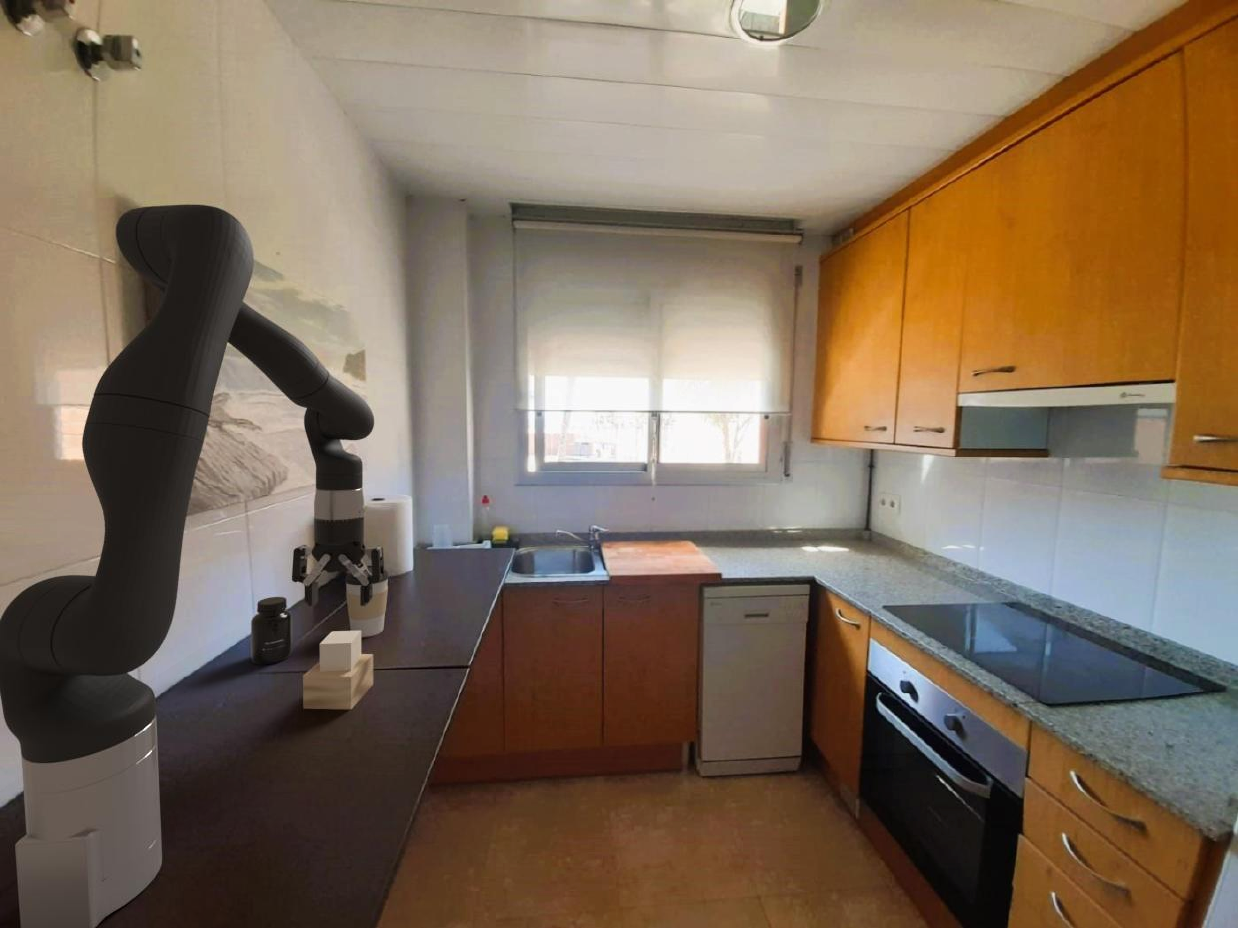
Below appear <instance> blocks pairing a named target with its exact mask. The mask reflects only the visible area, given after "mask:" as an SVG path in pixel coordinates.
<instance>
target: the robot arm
mask: <svg viewBox="0 0 1238 928" xmlns="http://www.w3.org/2000/svg"><path fill="white" fill-rule="evenodd" d="M116 223H117V224H116V227H115V237H116V242H117V245H118V248H119V250H120V252H121V254H122V256H123V258H124V259H125V261H126V262H127V263H128V264H129V265H130V267H131V268H132V269H133V270H134V271H135V272H136V273H137V274H139V276H140V277H141V278H143V279H144V280H145V281H146V282H148V284H150V285H151V286H153V287H154V288H155V289H157V290H158V291H159V292H161V294H163V297H162V299H161V302H160V305H158V307H157V310H156V312H155V313H154V315H153V316H152V318H151V319H150V320H149V321H148V323H147V324H146V325H145V326H144V328H143V329H142V330H141V331H140V332H139V333H138V334H137V335H136V336H135V337H134V338H132V340H131V341H130V342H129V343H127V345H126V346H125V347H124V348H123V350H122V351H120V353H118V355H116V357H115V358H114V359H113V360H112V361H111V363H110V364H109V365H108V366H107V367H106V370H105V371H104V372H103V373H102V375H101V377H100V378H99V380H98V382H97V384H96V387H95V389H94V393H93V396H92V400H91V403H90V405H89V410H88V414H87V416H86V420H85V424H84V428H83V434H82V438H81V439H82V440H81V441H82V442H81V448H82V449H81V450H82V454H83V455H82V456H83V458H84V462H85V466H86V469H87V472H88V475H89V478H90V480H91V483H92V486H93V488H94V490H95V491H94V492H95V493H96V497H98V500H99V503H100V506H101V510H102V514H103V515H102V516H103V521H104V536H103V544H102V549H101V554H100V557H99V562H98V566H97V568H96V571H95V572H96V573H95V575H84V574H81V575H80V574H68V575H67V574H65V575H58V576H54V577H49V578H46V579H43V580H41V581H38V582H35V583H33V584H32V585H30V586H28V587H27V588H25V589H24V590H22V591H21V592H20V593H18V595H16V596H15V597H14V599H13V600H12V601H10V603H9V604H8V605H7V607H6V608H5V610H4V611H3V613H2V615H1V617H0V701H1V706H2V707H1V708H2V715H3V719H4V722H5V724H6V727H7V728H8V730H9V732H10V733H11V734H12V735H13V736H14V737H15V738H16V740H18V742H19V744H20V745H19V746H20V755H21V766H22V767H21V768H22V769H21V770H22V785H23V787H22V788H23V801H24V803H23V804H24V814H25V815H24V816H25V830H26V834H25V835H24V836H23V837H22V838H20V839H19V840H18V841H17V842H16V843H15V846H14V847H15V849H14V850H15V862H16V864H15V865H16V877H17V892H18V893H17V894H18V906H19V919H20V928H96V927H98V925H99V924H100V923H101V922H102V921H103V920H104V919H105V918H106V917H108V916H109V915H110V914H112V913H113V912H115V911H117V910H118V909H120V908H122V907H123V906H125V905H127V904H128V903H130V902H131V901H132V900H133V899H134V898H136V897H137V896H138V895H139V894H140V893H141V892H143V891H144V890H145V889H146V888H147V887H148V886H149V885H150V884H151V883H152V882H153V880H154V879H155V878H156V876H157V874H158V873H159V871H160V870H161V867H162V865H163V853H162V851H163V850H162V849H163V848H162V847H163V846H162V826H161V825H162V823H161V821H162V819H161V802H160V801H161V800H160V778H159V755H158V751H159V750H158V728H157V707H156V706H157V704H156V703H157V701H156V695H155V693H154V690H153V689H152V688H151V687H150V686H149V685H148V684H146V683H145V682H143V681H141V680H139V679H137V678H135V677H134V676H132V675H131V674H129V673H130V672H133V671H135V670H137V669H138V668H140V667H142V666H143V665H145V664H146V663H147V662H148V661H149V660H150V659H152V658H153V657H154V656H155V654H156V653H157V652H158V651H159V649H161V646H162V644H163V643H164V641H165V640H166V639H167V636H168V634H169V631H170V629H171V625H172V623H173V620H174V616H175V612H176V611H175V610H176V606H177V599H178V589H179V580H180V571H181V570H180V569H181V559H182V552H183V551H182V549H183V542H184V541H183V540H184V532H185V527H186V520H187V515H188V510H189V506H190V501H191V495H192V492H193V491H192V489H193V485H194V481H195V474H196V471H197V468H198V463H199V460H200V457H201V454H202V450H203V446H204V443H205V438H206V435H207V433H206V432H207V430H208V426H209V421H210V416H211V410H212V404H213V399H214V394H215V390H216V387H217V384H218V383H217V382H218V378H219V375H220V371H221V368H222V366H223V365H222V364H223V360H224V357H225V353H226V350H227V344H228V343H229V345H231V347H233V348H234V349H235V350H237V351H238V352H240V354H242V355H243V356H244V357H245V358H247V359H248V360H249V362H251V363H252V364H253V365H254V366H255V367H257V368H258V369H259V371H261V372H262V373H263V374H264V375H265V376H266V377H267V378H268V379H269V380H270V381H271V383H273V384H274V385H275V387H276V388H278V389H279V390H280V392H282V394H284V396H285V397H286V398H287V399H289V401H291V402H292V403H293V404H295V405H297V406H298V407H300V408H301V407H302V408H304V409H305V408H306V410H305V412H304V416H303V425H304V431H305V434H306V438H307V441H308V445H309V447H310V451H311V454H312V457H313V460H314V463H315V495H314V500H313V508H314V509H313V541H314V545H313V546H308V545H307V544H302V545H301V546H297V547H296V548H294V549H293V552H292V553H293V554H292V555H293V557H292V569H291V581H292V582H293V583H300V584H302V585H303V586H304V602H305V603H306V604H307V606H308V607H314V606H316V605H317V604H318V603H319V581H318V580H319V578H320V577H321V576H322V575H323V573H324V572H327V573H328V574H329V573H335V572H339V573H348V572H349V573H350V572H351V574H352V575H353V576H354V577H357V579H358V580H359V581H360V582H361V583H362V586H360V606H366V605H367V604H368V603H369V602H370V601H371V600H372V597H373V583H374V582H379V581H380V580H381V579H382V578H383V577H384V575H385V573H384V570H385V561H384V560H385V558H384V547H383V546H382V545H377V546H374V547H366V546H365V544H364V540H365V539H364V537H365V511H366V510H365V509H366V508H365V499H364V491H363V490H364V489H363V487H364V485H363V479H364V478H363V472H364V471H363V461H362V458H361V457H360V456H359V455H356V454H354V453H349V452H347V451H346V450H345V449H344V447H343V444H342V442H341V440H342V441H360V440H363V439H366V438H367V437H369V435H371V433H372V432H373V430H374V426H375V418H374V417H375V416H374V414H373V411H372V409H371V407H370V406H369V404H368V403H367V401H365V399H363V397H361V396H360V395H359V394H357V393H356V392H355V391H354V390H352V389H351V388H349V387H348V386H347V385H346V384H344V383H343V382H341V381H340V380H338V379H337V378H336V377H334V376H332V375H331V373H330V372H329V370H328V369H327V368H326V366H324V365H323V364H322V362H321V361H320V360H319V358H318V357H317V356H316V355H315V354H314V352H313V351H312V350H311V349H310V348H309V347H308V346H307V345H306V344H305V343H303V341H301V340H300V339H299V338H298V337H296V336H295V335H293V334H292V333H290V332H289V331H287V330H286V329H284V328H283V327H281V326H280V325H278V324H277V323H275V322H273V321H272V320H270V319H268V317H265V316H264V315H262V314H261V313H259V312H258V311H257V310H255V309H254V308H252V307H251V306H250V305H248V304H247V303H246V302H245V301H244V299H245V297H246V294H247V291H248V289H249V286H250V282H251V279H252V277H253V272H254V262H255V261H254V259H255V258H254V249H253V245H252V241H251V239H250V237H249V234H248V232H247V230H246V229H245V227H244V226H243V224H242V223H241V222H240V221H239V219H237V218H236V217H235V216H234V215H232V214H231V213H230V212H228V211H226V210H224V209H222V208H219V207H216V206H213V205H206V204H189V203H188V204H172V205H171V204H169V205H153V206H152V205H151V206H140V207H136V208H132V209H130V210H127V211H126V212H124V213H123V214H122V215H121V216H120V217H119V218H118V221H117V222H116ZM311 555H312V557H313V558H314V559H315V560H316V565H315V566H314V567H313V568H312V569H311V570H310V572H309V573H307V572H308V559H310V558H311ZM365 555H366V556H367V558H368V560H369V561H371V565H372V574H371V573H370V572H369V570H368V569H367V566H368V565H366V563H365V561H363V558H364V556H365ZM317 581H318V582H317Z"/></svg>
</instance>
